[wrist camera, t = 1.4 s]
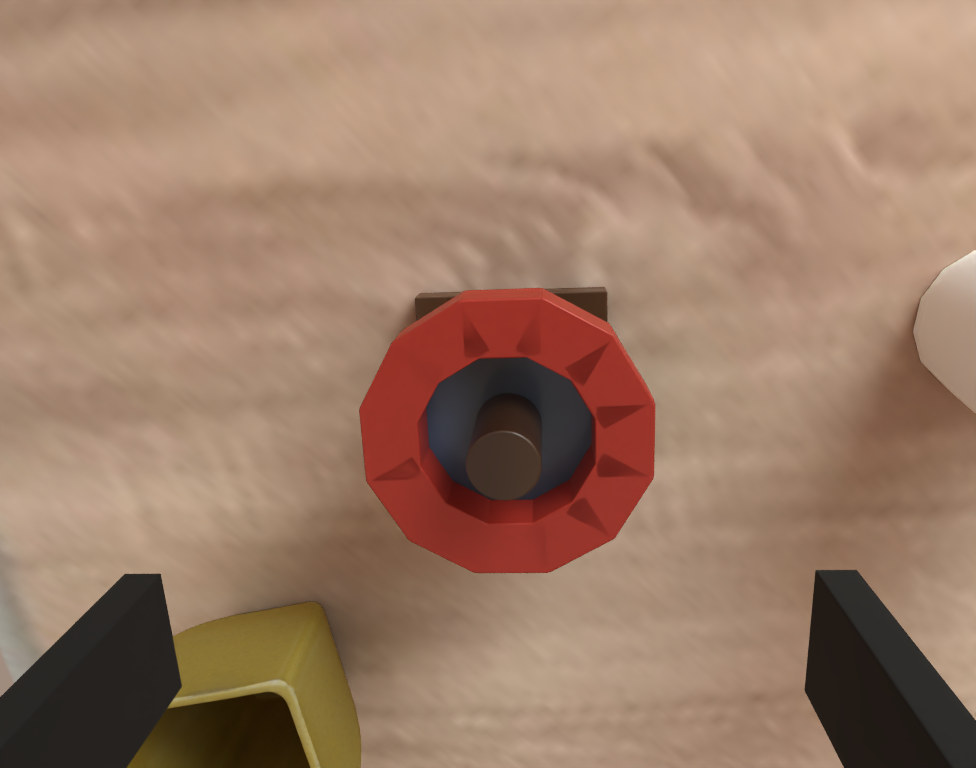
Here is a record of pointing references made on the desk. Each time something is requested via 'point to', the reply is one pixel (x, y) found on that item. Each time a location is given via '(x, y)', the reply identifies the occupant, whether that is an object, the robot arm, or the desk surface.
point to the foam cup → (950, 329)
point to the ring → (508, 523)
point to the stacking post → (510, 417)
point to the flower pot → (258, 696)
